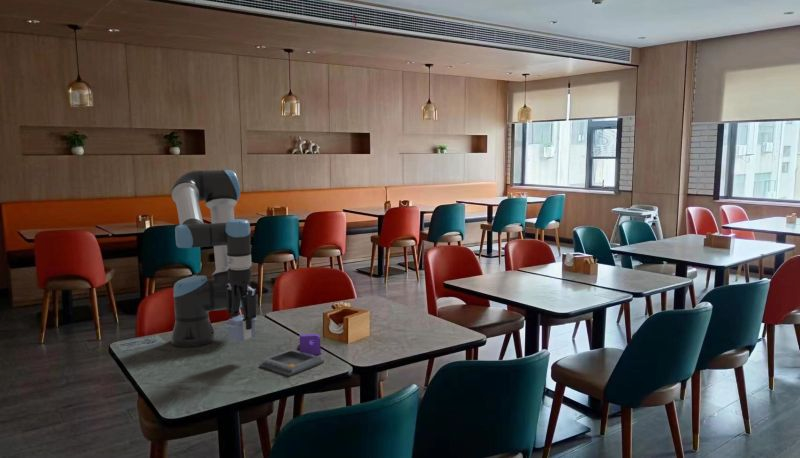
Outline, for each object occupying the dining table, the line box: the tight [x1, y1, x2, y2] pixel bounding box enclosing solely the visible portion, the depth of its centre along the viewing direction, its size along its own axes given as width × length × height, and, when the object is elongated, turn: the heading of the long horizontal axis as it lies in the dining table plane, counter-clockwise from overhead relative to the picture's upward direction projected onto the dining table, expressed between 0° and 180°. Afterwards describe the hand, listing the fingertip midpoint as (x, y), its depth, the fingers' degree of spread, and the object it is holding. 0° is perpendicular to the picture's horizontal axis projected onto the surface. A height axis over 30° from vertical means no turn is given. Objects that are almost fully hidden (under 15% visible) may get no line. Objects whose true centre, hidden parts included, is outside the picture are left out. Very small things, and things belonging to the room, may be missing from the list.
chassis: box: [258, 348, 325, 377], centre depth 194 cm, size 14×15×3 cm
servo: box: [224, 314, 259, 343], centre depth 197 cm, size 4×10×8 cm, turn 142°
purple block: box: [299, 333, 322, 355], centre depth 209 cm, size 12×7×7 cm, turn 9°
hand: (242, 336), depth 198 cm, fingers closed on servo, 4 cm apart
